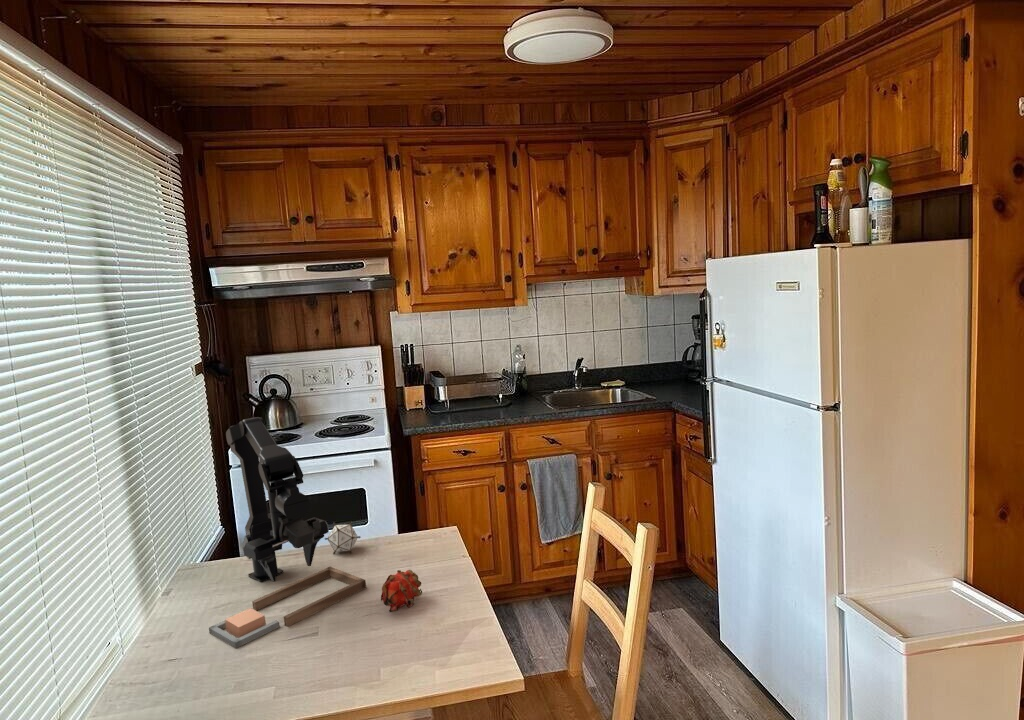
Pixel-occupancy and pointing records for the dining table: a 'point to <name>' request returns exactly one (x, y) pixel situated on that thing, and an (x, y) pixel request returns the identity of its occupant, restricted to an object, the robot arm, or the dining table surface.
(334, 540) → the game die
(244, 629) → the terracotta block
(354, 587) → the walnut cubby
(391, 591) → the dragon fruit
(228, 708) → the dining table surface
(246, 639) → the grey bay
